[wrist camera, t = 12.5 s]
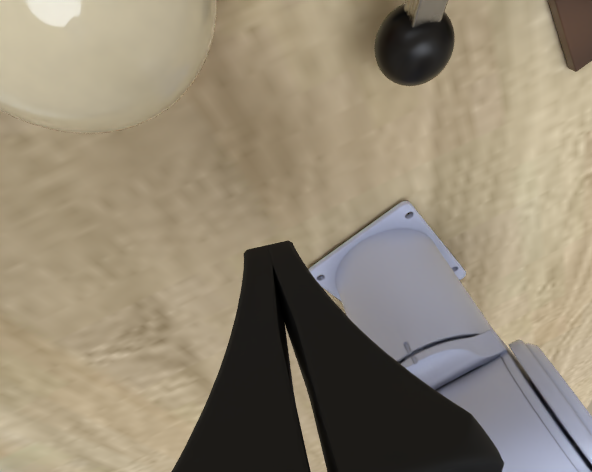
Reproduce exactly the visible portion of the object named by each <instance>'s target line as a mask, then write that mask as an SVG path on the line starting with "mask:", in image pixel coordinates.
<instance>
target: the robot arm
mask: <svg viewBox="0 0 592 472" xmlns="http://www.w3.org/2000/svg"><path fill="white" fill-rule="evenodd" d="M408 212H410V213H409V214H408V215H406V214H407V213H408ZM319 275H322V276H319ZM465 275H466V271H465V270H464V269H463V267H462V266H461V265H460V264H459V262H458V261H457V260H456V259H455V257H454V256H453V255H452V254H451V252H450V251H449V250H448V249H447V248H446V246H445V245H444V244H443V243H442V241H441V240H440V239H439V238H438V236H437V235H436V234H435V233H434V231H433V230H432V229H431V228H430V226H429V225H428V224H427V223H426V222H425V220H424V219H423V218H422V217H421V215H420V214H419V213H418V212H417V210H416V209H415V208H414V207H413V205H412V204H411V203H410V202H409V201H402V202H400V203H399V204H397V205H396V206H395V207H393V208H392V209H391V210H389V211H388V212H386V213H385V214H384V215H382V216H381V217H379V218H378V219H377V220H375V221H374V222H372V223H371V224H370V225H368V226H367V227H366V228H364V229H363V230H361V231H360V232H359V233H357V234H356V235H354V236H353V237H352V238H350V239H349V240H348V241H346V242H345V243H343V244H342V245H341V246H339V247H338V248H336V249H335V250H334V251H332V252H331V253H329V254H328V255H327V256H325V257H324V258H323V259H321V260H320V261H318V262H317V263H316V264H314V265H313V266H311V267H310V268H309V270H308V268H307V267H306V266H305V264H304V263H303V261H302V260H301V258H300V256H299V255H298V253H297V251H296V249H295V247H294V245H293V243H292V242H290V241H284V242H280V243H275V244H271V245H266V246H262V247H257V248H253V249H249V250H246V252H245V253H244V272H243V280H242V288H241V293H240V298H239V303H238V309H237V313H236V317H235V321H234V325H233V329H232V332H231V336H230V340H229V343H228V346H227V349H226V353H225V356H224V359H223V361H222V364H221V367H220V370H219V373H218V375H217V378H216V380H215V383H214V385H213V388H212V390H211V393H210V395H209V398H208V400H207V402H206V405H205V407H204V409H203V411H202V414H201V416H200V418H199V420H198V422H197V424H196V426H195V428H194V430H193V432H192V434H191V436H190V438H189V440H188V442H187V444H186V446H185V448H184V450H183V452H182V454H181V456H180V458H179V460H178V461H177V463H176V465H175V467H174V468H173V470H172V472H310V467H309V463H308V458H307V454H306V449H305V445H304V440H303V436H302V431H301V427H300V422H299V417H298V413H297V408H296V403H295V397H294V391H293V384H292V376H291V369H290V361H289V354H288V346H287V338H286V331H285V325H286V328H287V331H288V334H289V337H290V340H291V343H292V346H293V349H294V352H295V355H296V358H297V361H298V364H299V367H300V370H301V373H302V376H303V379H304V382H305V385H306V388H307V391H308V394H309V398H310V401H311V405H312V409H313V413H314V418H315V422H316V426H317V430H318V434H319V438H320V442H321V447H322V451H323V455H324V459H325V463H326V467H327V472H592V416H591V415H590V414H589V412H588V411H587V410H586V408H585V407H584V406H583V404H582V403H581V402H580V400H579V399H578V398H577V396H576V395H575V394H574V392H573V391H572V390H571V388H570V387H569V386H568V384H567V383H566V382H565V380H564V379H563V378H562V376H561V375H560V374H559V373H558V371H557V370H556V369H555V367H554V366H553V365H552V363H551V362H550V361H549V360H548V358H547V357H546V356H545V354H544V353H543V352H542V351H541V349H540V348H539V347H538V346H537V345H533V344H529V343H526V344H525V343H524V342H523V341H522V340H516V341H514V342H513V343H511V344H509V346H510V348H511V350H512V351H513V353H514V354H513V353H512V352H511V351H510V349H509V348H508V347H507V346H506V345H505V343H504V342H503V341H502V340H501V339H500V337H499V336H498V335H497V334H496V333H495V331H494V330H493V328H492V327H491V326H490V324H489V323H488V321H487V320H486V318H485V317H484V315H483V314H482V312H481V311H480V310H479V308H478V307H477V305H476V304H475V302H474V301H473V299H472V298H471V296H470V295H469V293H468V292H467V291H466V289H465V288H464V286H463V285H462V283H461V282H460V280H461V279H462V278H464V277H465ZM321 286H322V287H323V288H324V289H325V290H327V291H328V292H329V293H331V294H332V295H333V296H335V297H336V298H337V299H339V300H340V301H341V302H342V304H343V306H344V309H345V312H346V315H347V316H346V315H345V314H344V312H343V311H342V310H341V309H340V308H339V307H338V306H337V305H336V304H335V303H334V301H333V300H332V299H331V298H330V297H329V296H328V294H327V293H326V292H325V291H324V290H323V288H322V287H321ZM284 322H285V323H284ZM515 356H516V357H515Z"/></svg>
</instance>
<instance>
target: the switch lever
mask: <svg viewBox="0 0 592 472" xmlns="http://www.w3.org/2000/svg"><path fill="white" fill-rule="evenodd" d="M447 2H448V0H406V2H405V4H403V5H401V6H399V7H397V8H396V9H394V10H393V11H392V12H391V13H390V14H389V15H388V16H387V17H386V18H385V19H384V21H383V22H382V24H381V26H380V27H379V30H378V32H377V35H376V39H375V48H374V49H375V58H376V61H377V64H378V66H379V68H380V70H381V71H382V73H383V74H384V75H385V76H386V77H387V78H388V79H389V80H391V81H393V82H395V83H397V84H400V85H405V86H415V85H420V84H423V83H426V82H428V81H430V80H431V79H433V78H434V77H436V76H437V75H438V74H439V73H440V72H441V71H442V70H443V69H444V68H445V66H446V65H447V63H448V61H449V59H450V57H451V55H452V52H453V48H454V30H453V26H452V23H451V21H450V19H449V17H448V16H447V14H446V13H445V12H444V11H445V8H446V5H447Z"/></svg>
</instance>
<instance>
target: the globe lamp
mask: <svg viewBox="0 0 592 472" xmlns="http://www.w3.org/2000/svg"><path fill="white" fill-rule="evenodd" d="M216 13H217V0H0V111H2V112H4V113H6V114H8V115H10V116H12V117H14V118H17V119H20V120H22V121H25V122H27V123H30V124H33V125H36V126H40V127H44V128H47V129H51V130H57V131H63V132H70V133H86V134H95V133H109V132H115V131H121V130H124V129H128V128H131V127H134V126H137V125H140V124H142V123H144V122H146V121H148V120H151V119H153V118H155V117H157V116H158V115H160V114H161V113H163V112H164V111H166V110H168V109H169V108H170V107H171V106H172V105H173V104H175V103H176V102H177V101H178V100H179V99H180V98H181V97H182V96H183V95H184V93H185V92H186V91H187V90H188V89H189V88H190V86H191V85H192V84H193V82H194V81H195V79H196V78H197V76H198V74H199V73H200V71H201V69H202V67H203V65H204V63H205V61H206V59H207V56H208V53H209V50H210V47H211V43H212V40H213V35H214V29H215V23H216Z"/></svg>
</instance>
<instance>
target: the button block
mask: <svg viewBox="0 0 592 472" xmlns="http://www.w3.org/2000/svg"><path fill="white" fill-rule="evenodd" d="M548 2H549V6H550V9H551V12H552V16H553V19H554V22H555V25H556V29H557V32H558V35H559V38H560V42H561V45H562V48H563V51H564V55H565V58H566V61H567V65H568V68H569V69H571V70H573V71H575V72H576V71H578V70H579V69H581V68H582V67H584V66H585V65H586V64H588V63H589V62H590V61H592V0H548Z"/></svg>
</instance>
